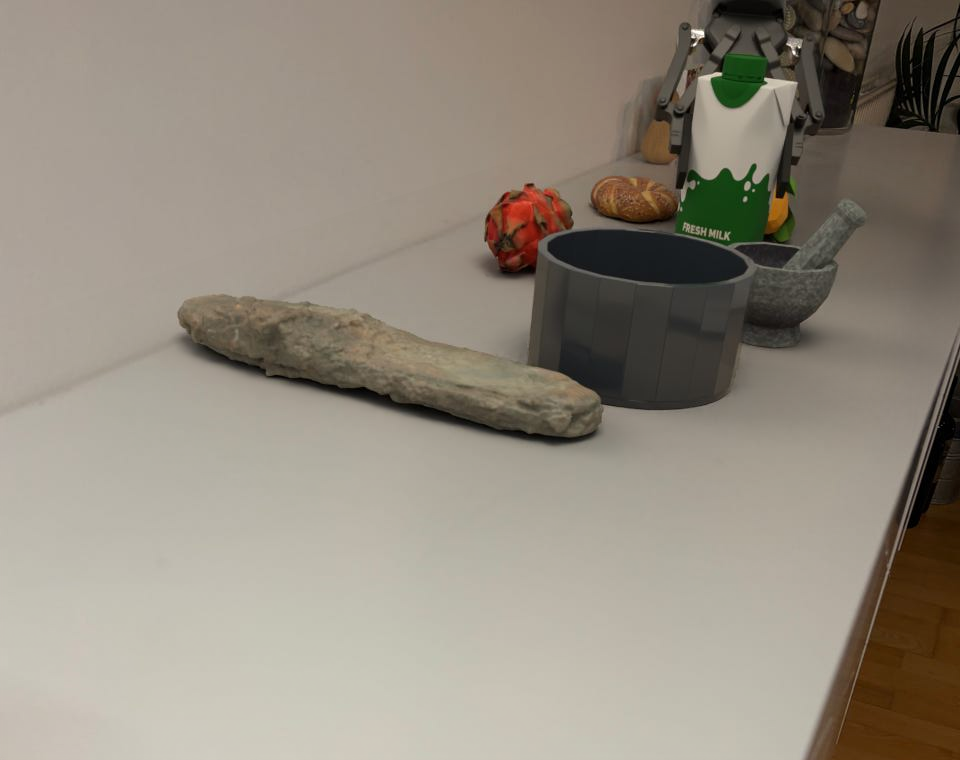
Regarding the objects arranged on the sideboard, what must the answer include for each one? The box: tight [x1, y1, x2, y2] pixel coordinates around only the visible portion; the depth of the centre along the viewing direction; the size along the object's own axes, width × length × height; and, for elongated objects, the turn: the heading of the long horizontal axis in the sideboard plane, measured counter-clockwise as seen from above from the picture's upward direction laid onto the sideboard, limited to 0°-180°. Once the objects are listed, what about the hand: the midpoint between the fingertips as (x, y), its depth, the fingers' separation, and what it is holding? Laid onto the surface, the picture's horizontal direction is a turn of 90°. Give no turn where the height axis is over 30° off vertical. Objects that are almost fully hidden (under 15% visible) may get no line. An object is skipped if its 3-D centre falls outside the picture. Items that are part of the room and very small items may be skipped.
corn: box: [764, 174, 797, 243], centre depth 126 cm, size 7×8×20 cm
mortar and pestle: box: [727, 198, 868, 349], centre depth 93 cm, size 11×9×12 cm
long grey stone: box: [177, 293, 605, 438], centre depth 79 cm, size 35×5×10 cm
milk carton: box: [674, 53, 798, 246], centre depth 109 cm, size 9×9×20 cm
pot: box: [527, 226, 758, 410], centre depth 84 cm, size 16×16×9 cm
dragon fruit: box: [483, 182, 575, 273], centre depth 107 cm, size 8×8×12 cm
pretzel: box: [590, 175, 679, 223], centre depth 133 cm, size 12×11×4 cm
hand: (731, 185), depth 107 cm, fingers closed on milk carton, 9 cm apart
